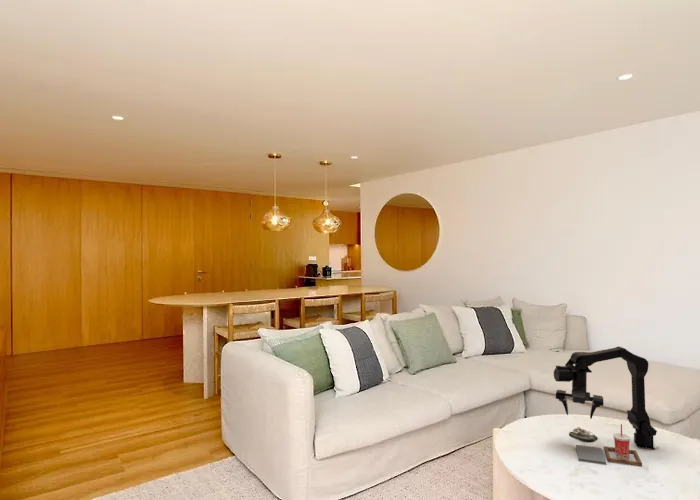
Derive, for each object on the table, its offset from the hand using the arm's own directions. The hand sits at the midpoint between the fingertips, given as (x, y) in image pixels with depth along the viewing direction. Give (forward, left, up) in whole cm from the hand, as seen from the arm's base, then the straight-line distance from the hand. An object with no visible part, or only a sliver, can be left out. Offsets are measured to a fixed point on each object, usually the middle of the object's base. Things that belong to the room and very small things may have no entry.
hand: (578, 416), depth 198 cm
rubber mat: (-3, +8, -13) cm, 16 cm away
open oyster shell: (-2, -11, -14) cm, 18 cm away
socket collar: (-15, +6, -13) cm, 21 cm away
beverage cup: (-15, +6, -13) cm, 21 cm away
